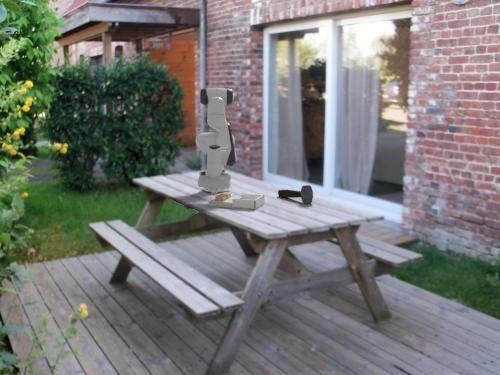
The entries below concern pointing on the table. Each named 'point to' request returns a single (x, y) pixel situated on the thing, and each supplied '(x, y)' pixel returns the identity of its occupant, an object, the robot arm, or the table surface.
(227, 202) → the board
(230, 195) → the tile
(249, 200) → the tray
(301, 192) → the hammer
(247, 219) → the table surface
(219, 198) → the tile
